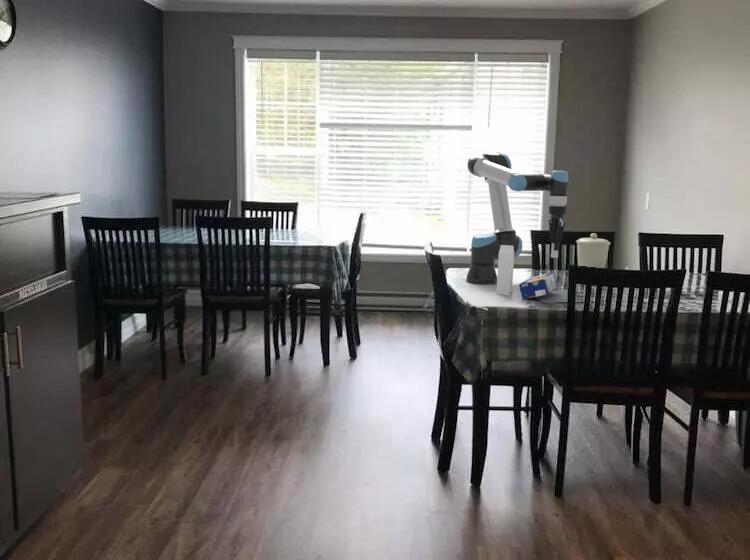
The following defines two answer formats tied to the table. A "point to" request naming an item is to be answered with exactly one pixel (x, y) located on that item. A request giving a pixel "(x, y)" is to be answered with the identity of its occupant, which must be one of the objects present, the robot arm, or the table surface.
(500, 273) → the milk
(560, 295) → the mat
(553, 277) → the beverage box
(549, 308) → the table surface
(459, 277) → the table surface
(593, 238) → the canister
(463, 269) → the table surface
